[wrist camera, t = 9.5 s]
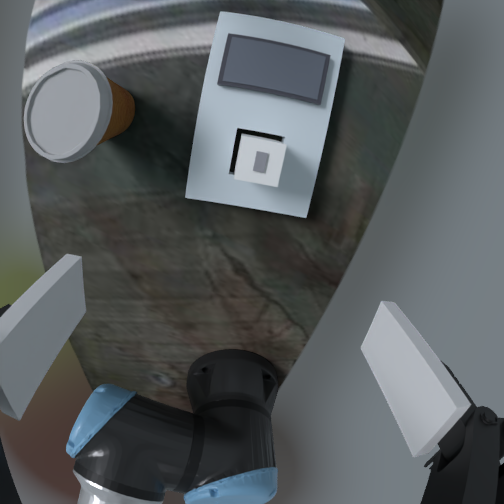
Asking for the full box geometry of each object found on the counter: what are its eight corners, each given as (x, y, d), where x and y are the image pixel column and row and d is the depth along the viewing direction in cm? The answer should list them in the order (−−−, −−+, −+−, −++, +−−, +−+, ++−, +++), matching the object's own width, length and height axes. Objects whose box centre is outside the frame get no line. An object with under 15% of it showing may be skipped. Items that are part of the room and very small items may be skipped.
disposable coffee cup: (159, 83, 29) (121, 66, 18) (133, 158, 33) (87, 177, 22) (92, 68, 28) (37, 54, 17) (70, 139, 31) (12, 152, 20)
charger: (269, 173, 34) (277, 187, 27) (235, 166, 34) (233, 179, 26) (276, 140, 33) (287, 144, 25) (241, 133, 32) (242, 135, 25)
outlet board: (302, 213, 36) (306, 218, 35) (187, 193, 35) (185, 197, 33) (339, 42, 28) (345, 38, 26) (221, 17, 26) (220, 11, 24)
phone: (318, 105, 29) (321, 104, 28) (217, 84, 28) (216, 83, 27) (328, 56, 27) (330, 55, 26) (228, 35, 26) (228, 32, 25)
